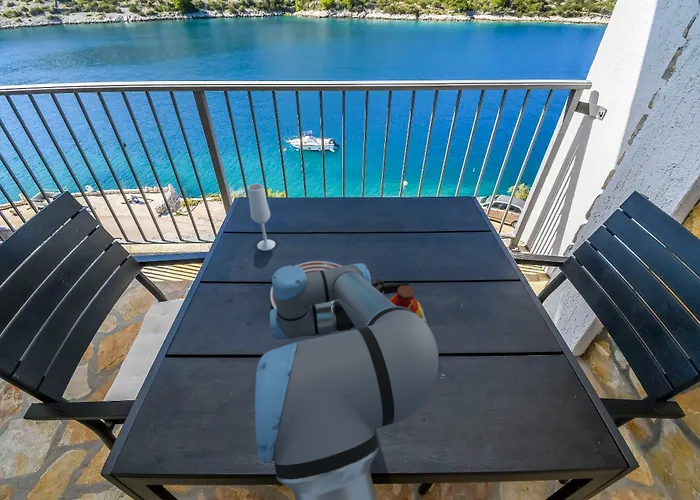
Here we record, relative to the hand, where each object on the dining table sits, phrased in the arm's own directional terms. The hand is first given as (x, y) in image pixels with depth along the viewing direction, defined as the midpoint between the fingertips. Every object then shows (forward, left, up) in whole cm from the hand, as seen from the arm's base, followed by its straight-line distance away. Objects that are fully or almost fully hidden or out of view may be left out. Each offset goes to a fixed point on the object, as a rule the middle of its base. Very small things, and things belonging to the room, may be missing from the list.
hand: (416, 305), depth 89 cm
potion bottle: (+2, +3, -9) cm, 10 cm away
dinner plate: (+29, +13, -13) cm, 34 cm away
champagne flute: (+62, +13, -13) cm, 64 cm away
